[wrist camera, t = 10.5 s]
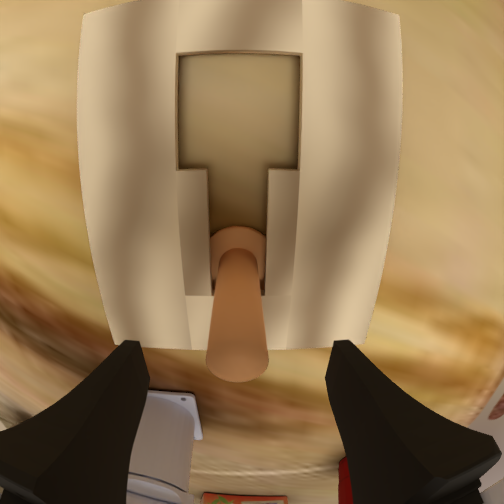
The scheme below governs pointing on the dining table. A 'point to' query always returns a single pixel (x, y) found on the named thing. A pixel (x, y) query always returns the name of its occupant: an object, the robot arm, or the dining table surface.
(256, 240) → the keyhole peg
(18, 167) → the dining table surface
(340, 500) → the plastic cup
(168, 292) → the keyhole board
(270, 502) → the cracker box
